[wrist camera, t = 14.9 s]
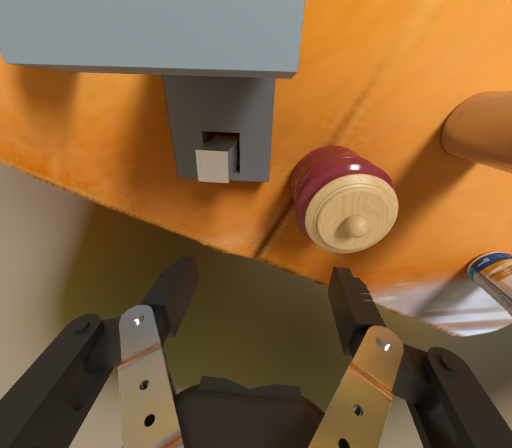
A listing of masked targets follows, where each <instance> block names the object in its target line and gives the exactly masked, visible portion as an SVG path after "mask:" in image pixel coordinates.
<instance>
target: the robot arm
mask: <svg viewBox="0 0 512 448" xmlns="http://www.w3.org/2000/svg"><path fill="white" fill-rule="evenodd" d="M441 140H442V145H443V147H444V149H445V150H446V151H447V152H448V153H449V154H451V155H454V156H457V157H460V158H464V159H467V160H470V161H473V162H476V163H479V164H483V165H486V166H489V167H492V168H496V169H499V170H502V171H505V172H509V173H512V91H493V92H484V93H480V94H477V95H475V96H472V97H471V98H469V99H467V100H465V101H464V102H463V103H462V104H460V105H459V106H458V107H457V108H456V109H455V110H454V111H453V112H452V113H451V115H450V116H449V118H448V119H447V121H446V123H445V125H444V127H443V130H442V136H441ZM198 279H199V275H198V269H197V262H196V258H195V257H194V256H181V257H180V259H179V260H178V262H177V263H176V264H171V265H170V266H168V267H167V268H166V269H164V271H163V272H162V274H161V275H160V277H159V278H158V279H157V281H156V283H155V284H154V285H153V287H152V288H151V290H150V291H149V292H148V294H147V295H146V297H145V298H144V300H143V301H142V303H141V304H140V305H138V306H135V307H133V308H131V309H129V310H127V311H126V312H125V313H124V314H123V315H122V317H118V318H112V319H107V320H102V321H101V319H100V317H99V316H98V315H97V314H86V315H82V316H80V317H78V318H76V319H74V320H73V321H71V322H70V323H69V324H68V325H67V326H66V327H65V328H64V329H63V330H62V331H61V333H60V334H59V335H58V336H57V337H56V338H55V339H54V340H53V342H52V343H51V344H50V345H49V346H48V347H47V348H46V349H45V351H44V352H43V353H42V354H41V355H40V356H39V357H38V358H37V360H36V361H35V362H34V363H33V364H32V365H31V367H30V368H28V370H27V371H26V372H25V373H24V374H23V375H22V376H21V377H20V379H19V380H18V381H17V382H16V383H15V384H14V385H13V386H12V388H11V389H10V390H9V391H8V392H7V393H6V394H5V396H4V397H3V398H2V399H1V400H0V448H69V446H70V444H71V442H72V440H73V439H74V437H75V435H76V433H77V432H78V430H79V428H80V426H81V425H82V423H83V421H84V419H85V418H86V416H87V414H88V412H89V411H90V409H91V407H92V405H93V404H94V402H95V400H96V398H97V397H98V395H99V393H100V391H101V389H102V388H103V386H104V384H105V382H106V381H107V379H108V377H109V375H110V374H111V372H112V370H113V368H114V367H115V366H118V375H119V391H120V407H121V424H122V441H123V447H122V448H378V446H379V443H380V439H381V436H382V432H383V429H384V426H385V422H386V419H387V416H388V412H389V409H390V405H391V402H392V398H393V394H394V395H396V396H398V397H400V398H402V399H405V400H406V402H407V405H408V407H409V410H410V412H411V415H412V418H413V421H414V423H415V426H416V428H417V431H418V434H419V436H420V439H421V442H422V444H423V447H424V448H512V431H511V429H510V428H509V426H508V425H507V423H506V422H505V420H504V419H503V417H502V416H501V414H500V413H499V411H498V410H497V408H496V407H495V405H494V404H493V402H492V401H491V400H490V398H489V396H488V395H487V393H486V392H485V390H484V389H483V388H482V386H481V384H480V383H479V381H478V380H477V378H476V377H475V375H474V374H473V372H472V371H471V369H470V368H469V367H468V365H467V364H466V363H465V362H464V361H463V360H462V359H461V358H460V357H458V356H457V355H456V354H454V353H453V352H451V351H449V350H447V349H444V348H441V347H432V348H430V349H429V350H428V352H425V351H422V350H419V349H416V348H414V347H411V346H408V345H406V344H404V343H402V341H401V340H400V338H399V337H398V336H397V335H396V334H395V333H393V332H392V331H391V330H389V329H387V328H386V326H385V324H384V322H383V320H382V318H381V316H380V314H379V312H378V309H377V307H376V305H375V303H374V302H373V299H372V297H371V295H370V293H369V291H368V289H367V287H366V285H365V284H364V283H363V282H362V281H361V280H360V279H359V278H353V276H352V274H351V271H350V269H349V268H343V267H334V268H333V272H332V276H331V280H330V284H329V288H328V295H329V299H330V304H331V308H332V311H333V315H334V319H335V323H336V327H337V330H338V334H339V338H340V342H341V346H342V350H343V353H344V355H350V356H352V358H353V360H352V362H351V364H350V365H349V367H348V369H347V371H346V373H345V375H344V377H343V379H342V381H341V383H340V385H339V387H338V389H337V391H336V393H335V395H334V397H333V399H332V401H331V403H330V405H329V407H328V409H327V411H326V413H324V412H323V411H322V410H321V409H320V408H319V407H318V406H317V405H316V404H314V403H313V402H312V401H310V400H309V399H307V398H305V397H303V396H301V395H300V387H296V386H287V385H278V384H274V385H268V386H263V387H258V388H253V389H248V388H246V387H243V386H241V385H239V384H237V383H234V382H232V381H230V380H228V379H225V378H215V377H206V376H202V379H201V383H200V384H198V385H194V386H191V387H189V388H187V389H185V390H183V391H182V392H180V393H179V394H177V392H176V389H175V385H174V382H173V379H172V375H171V371H170V367H169V363H168V359H167V355H166V351H165V347H164V341H165V339H166V337H175V335H176V333H177V330H178V328H179V326H180V324H181V321H182V319H183V317H184V315H185V312H186V310H187V308H188V306H189V303H190V301H191V299H192V297H193V295H194V292H195V290H196V288H197V285H198Z"/></svg>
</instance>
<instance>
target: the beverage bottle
mask: <svg viewBox="0 0 512 448" xmlns="http://www.w3.org/2000/svg"><path fill="white" fill-rule="evenodd" d="M467 274H468V276H469V277H470V278H471V279H472V280H473V281H474V282H476V283H477V284H478V285H479V286H480V287H481V288H482V289H483V290H485V291H486V292H487V293H488V294H489V295H490V296H491V297H492V298H493V299H495V300H496V301H497V302H498V303H499V304H500V305H501V306H502V307H503V308H504V309H506V310H507V311H508V313H509V314H510V315H511V316H512V256H511V255H510V254H508V253H505V252H498V251H497V252H489V253H486V254H483V255H481V256H479V257H477V258H476V259H475V260H473V261H472V262H471V263H470V265H469V266H468V269H467Z"/></svg>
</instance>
